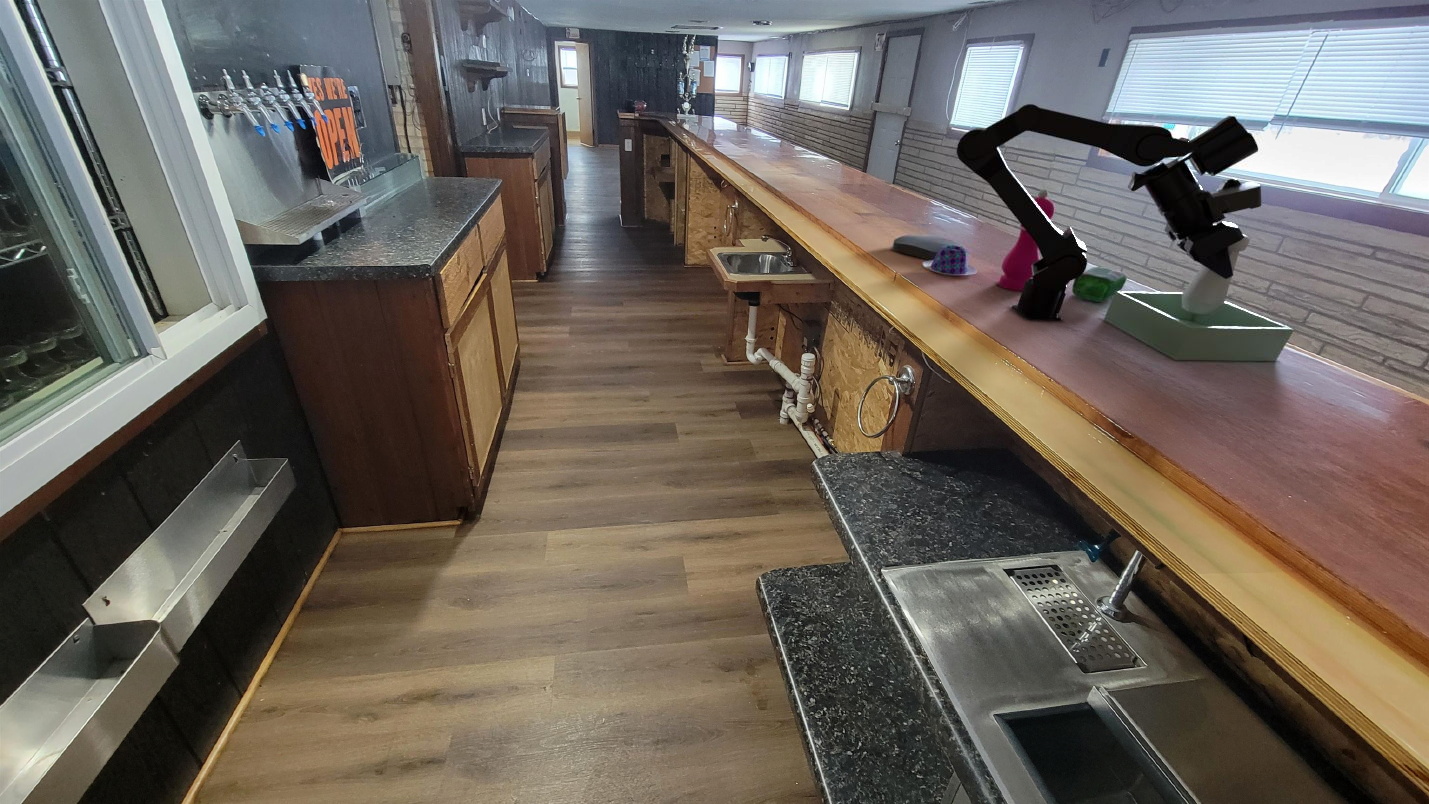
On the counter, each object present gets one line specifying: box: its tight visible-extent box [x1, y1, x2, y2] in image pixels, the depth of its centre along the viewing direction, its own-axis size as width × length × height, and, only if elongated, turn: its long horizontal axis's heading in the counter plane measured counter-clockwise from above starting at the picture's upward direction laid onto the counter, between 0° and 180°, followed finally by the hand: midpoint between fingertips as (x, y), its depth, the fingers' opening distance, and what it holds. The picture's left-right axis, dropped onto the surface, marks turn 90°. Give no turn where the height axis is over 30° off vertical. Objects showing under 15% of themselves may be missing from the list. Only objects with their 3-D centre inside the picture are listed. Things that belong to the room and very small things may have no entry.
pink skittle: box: [998, 189, 1056, 292], centre depth 117 cm, size 7×7×20 cm
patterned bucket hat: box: [922, 245, 978, 277], centre depth 130 cm, size 12×12×5 cm
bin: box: [1103, 290, 1295, 362], centre depth 98 cm, size 18×18×6 cm
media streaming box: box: [892, 234, 964, 261], centre depth 144 cm, size 15×15×3 cm
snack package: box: [1071, 266, 1128, 303], centre depth 118 cm, size 7×16×5 cm, turn 131°
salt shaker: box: [1182, 234, 1251, 315], centre depth 93 cm, size 6×6×13 cm
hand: (1225, 274), depth 93 cm, fingers closed on salt shaker, 3 cm apart
